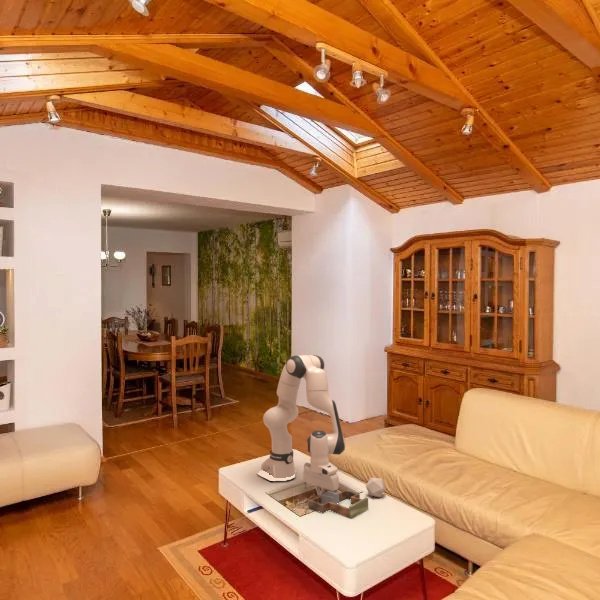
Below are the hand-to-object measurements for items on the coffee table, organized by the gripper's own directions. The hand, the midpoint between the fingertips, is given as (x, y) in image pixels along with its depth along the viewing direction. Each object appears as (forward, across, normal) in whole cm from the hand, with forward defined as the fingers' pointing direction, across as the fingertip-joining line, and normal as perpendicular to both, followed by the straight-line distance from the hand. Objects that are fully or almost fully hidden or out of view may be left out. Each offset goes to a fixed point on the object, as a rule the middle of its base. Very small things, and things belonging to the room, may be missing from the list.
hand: (320, 495), depth 228 cm
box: (+2, +11, 0) cm, 11 cm away
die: (+2, +17, +21) cm, 27 cm away
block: (+2, +6, 0) cm, 6 cm away
